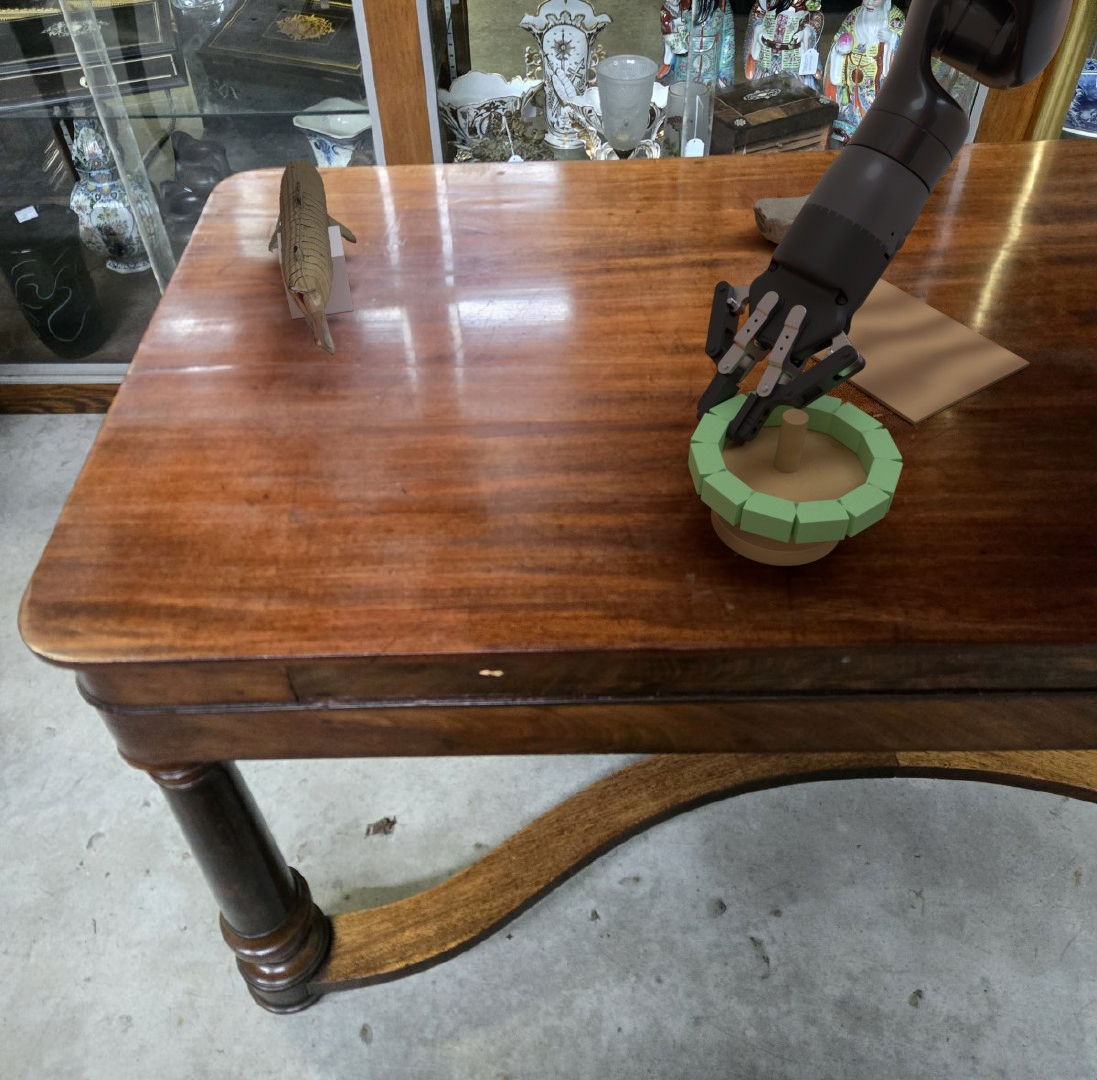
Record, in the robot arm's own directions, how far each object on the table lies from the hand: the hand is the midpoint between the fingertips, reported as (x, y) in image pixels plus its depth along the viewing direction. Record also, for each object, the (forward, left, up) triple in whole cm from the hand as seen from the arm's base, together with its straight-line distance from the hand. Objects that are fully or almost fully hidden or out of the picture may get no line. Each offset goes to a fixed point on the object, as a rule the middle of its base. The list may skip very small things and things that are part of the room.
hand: (719, 431), depth 78 cm
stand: (-5, -2, -6) cm, 8 cm away
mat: (+7, -27, -6) cm, 28 cm away
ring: (-6, -2, 0) cm, 6 cm away
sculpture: (+26, -36, -6) cm, 45 cm away
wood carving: (+43, +14, -6) cm, 45 cm away
